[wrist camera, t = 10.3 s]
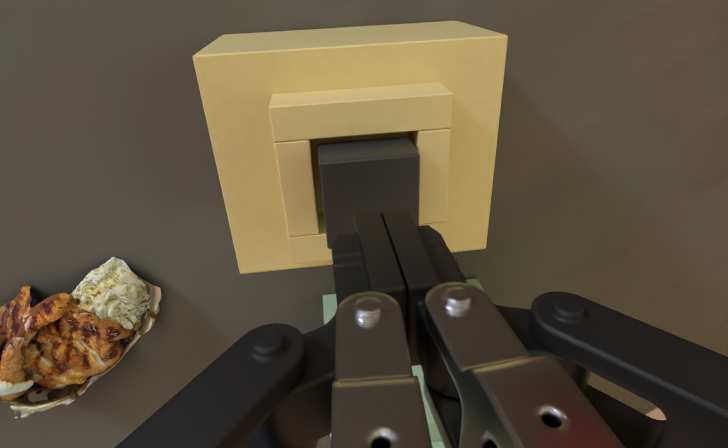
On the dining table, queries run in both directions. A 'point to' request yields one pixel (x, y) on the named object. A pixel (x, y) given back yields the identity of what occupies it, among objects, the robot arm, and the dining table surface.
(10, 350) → the barbecue chicken platter
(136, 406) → the dining table surface
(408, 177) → the charcoal square push button
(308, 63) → the block
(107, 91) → the dining table surface
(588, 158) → the dining table surface
